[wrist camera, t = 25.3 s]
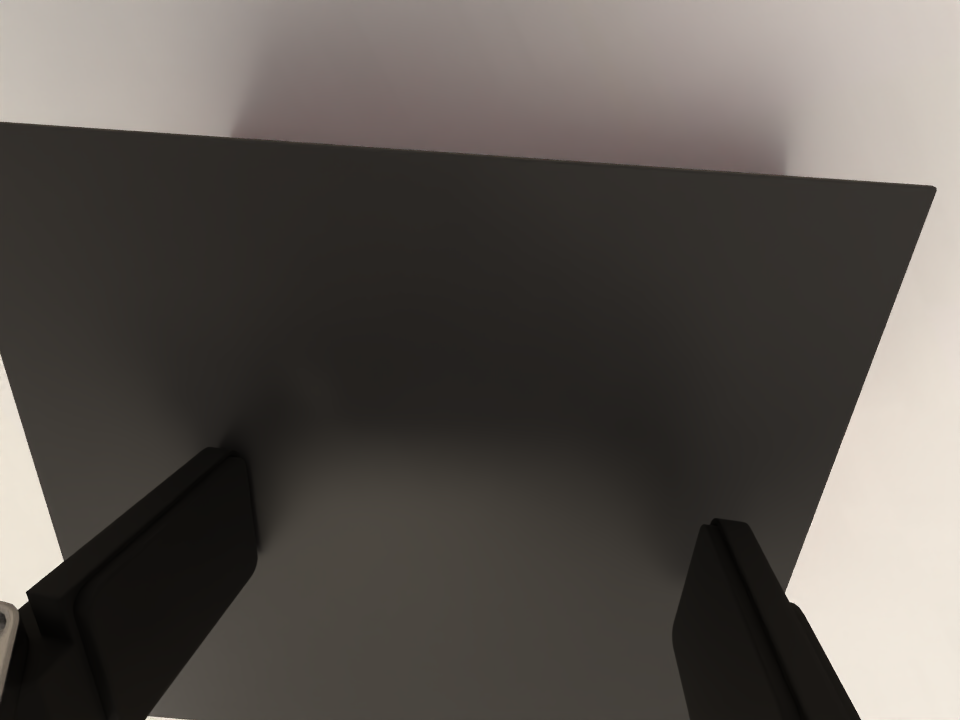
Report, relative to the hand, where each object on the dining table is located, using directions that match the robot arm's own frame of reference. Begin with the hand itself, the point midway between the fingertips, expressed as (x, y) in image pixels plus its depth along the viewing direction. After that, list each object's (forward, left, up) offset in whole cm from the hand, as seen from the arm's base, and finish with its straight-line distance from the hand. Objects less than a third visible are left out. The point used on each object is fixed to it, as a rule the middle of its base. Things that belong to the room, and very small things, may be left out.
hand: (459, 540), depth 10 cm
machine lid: (0, -1, -1) cm, 2 cm away
